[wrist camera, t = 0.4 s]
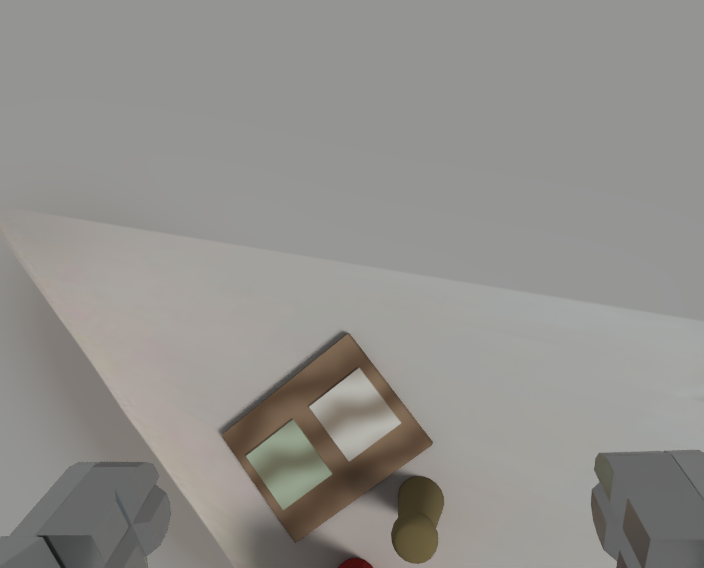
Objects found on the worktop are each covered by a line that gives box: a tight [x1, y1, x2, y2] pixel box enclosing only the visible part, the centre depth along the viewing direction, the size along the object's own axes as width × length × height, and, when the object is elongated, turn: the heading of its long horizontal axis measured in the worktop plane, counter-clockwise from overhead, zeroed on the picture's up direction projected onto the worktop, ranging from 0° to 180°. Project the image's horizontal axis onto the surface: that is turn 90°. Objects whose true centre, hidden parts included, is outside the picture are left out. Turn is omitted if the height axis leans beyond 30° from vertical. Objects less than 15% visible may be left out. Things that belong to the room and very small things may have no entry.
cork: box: [391, 476, 444, 564], centre depth 54 cm, size 6×6×11 cm
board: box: [222, 334, 433, 543], centre depth 62 cm, size 18×24×1 cm
